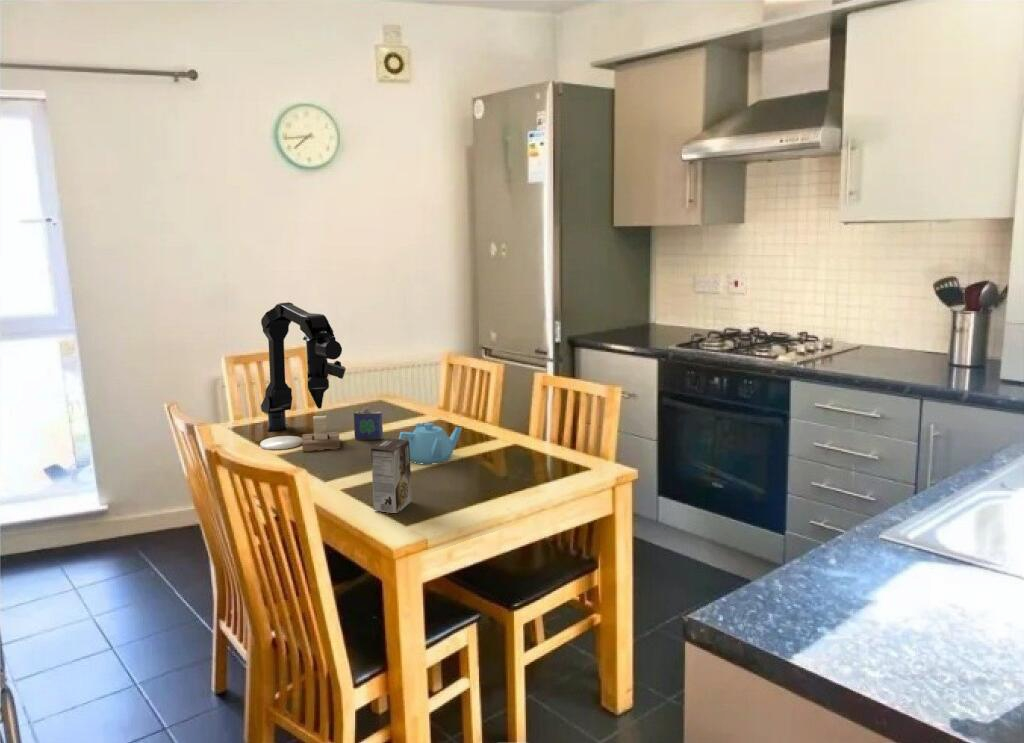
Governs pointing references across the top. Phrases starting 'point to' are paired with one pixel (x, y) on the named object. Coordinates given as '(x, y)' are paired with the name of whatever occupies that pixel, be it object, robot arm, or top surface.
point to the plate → (281, 442)
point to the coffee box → (391, 475)
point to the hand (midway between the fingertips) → (319, 405)
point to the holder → (320, 442)
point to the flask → (368, 425)
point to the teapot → (430, 443)
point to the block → (320, 427)
